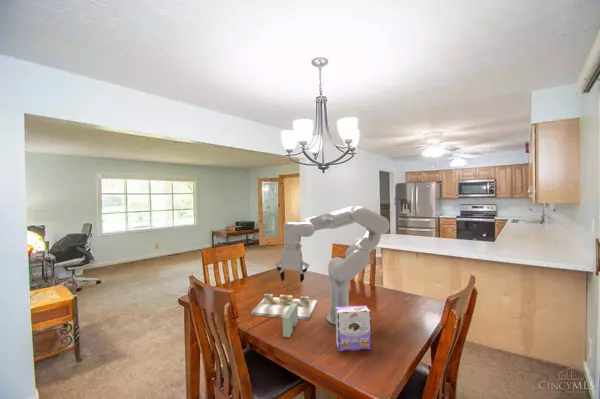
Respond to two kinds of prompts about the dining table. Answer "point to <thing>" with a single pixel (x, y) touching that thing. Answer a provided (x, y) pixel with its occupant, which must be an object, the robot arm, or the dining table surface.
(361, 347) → the candy box
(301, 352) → the dining table surface
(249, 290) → the dining table surface
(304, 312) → the white rectangular board
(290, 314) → the cross piece
